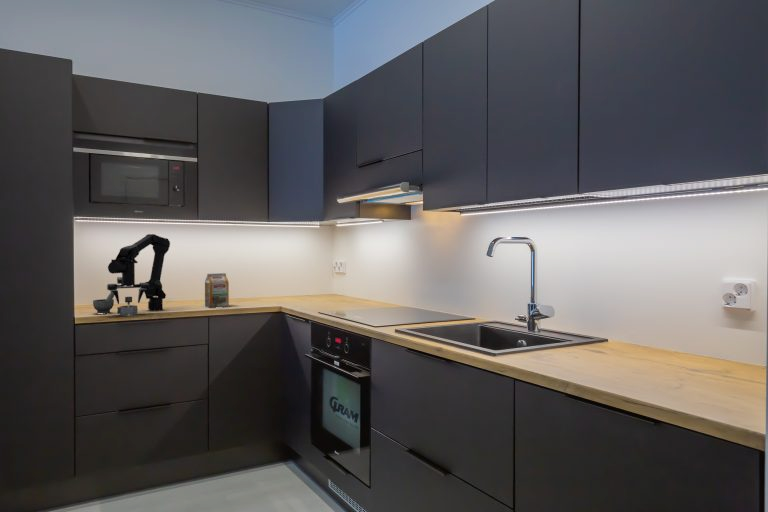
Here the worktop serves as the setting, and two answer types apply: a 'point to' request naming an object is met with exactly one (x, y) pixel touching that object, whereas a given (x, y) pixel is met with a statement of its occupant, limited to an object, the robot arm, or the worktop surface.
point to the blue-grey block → (127, 310)
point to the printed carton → (216, 290)
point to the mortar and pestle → (104, 304)
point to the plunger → (128, 300)
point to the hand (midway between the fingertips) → (128, 303)
